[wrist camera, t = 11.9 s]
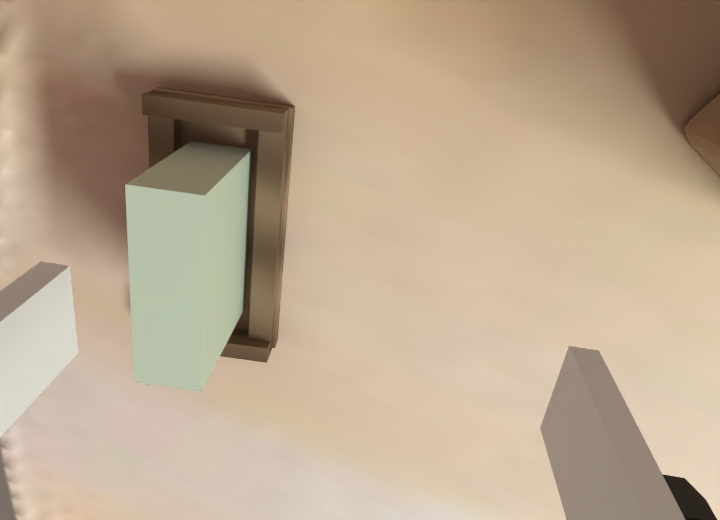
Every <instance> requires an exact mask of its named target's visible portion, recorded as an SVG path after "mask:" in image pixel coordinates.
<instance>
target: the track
mask: <svg viewBox="0 0 720 520" xmlns="http://www.w3.org/2000/svg"><path fill="white" fill-rule="evenodd" d="M142 108H143V115H148V132H149V167H150V168H151V167H152V166H154V165H155V164H157V163H159V162H160V161H162V160H163V159H165V158H166V157H168V156H169V155H171V154H172V153H174V152H175V151H177V150H178V149H180V148H181V147H183V146H185V145H186V144H188V143H189V142H191V141H196V142H203V143H210V144H217V145H224V146H231V147H239V148H246V149H252V159H251V180H250V200H249V221H248V241H247V262H246V282H245V303H244V310H243V312H242V314H241V316H240V318H239V320H238V322H237V324H236V326H235V328H234V330H233V332H232V334H231V336H230V338H229V340H228V342H227V343H226V345H225V347H224V349H223V351H222V353H221V355H220V356H223V357H231V358H238V359H245V360H252V361H259V362H266V363H267V360H268V358H269V355H270V352H271V350H272V348H275V346H276V343H277V339H278V326H279V313H280V299H281V286H282V273H283V259H284V246H285V232H286V219H287V206H288V192H289V179H290V166H291V152H292V139H293V126H294V112H295V106H290V105H282V104H275V103H268V102H260V101H253V100H246V99H238V98H231V97H224V96H216V95H209V94H202V93H194V92H187V91H180V90H173V89H165V88H155V89H152V91H151V92H148V93H145V94H142Z"/></svg>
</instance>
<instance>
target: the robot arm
mask: <svg viewBox="0 0 720 520" xmlns="http://www.w3.org/2000/svg"><path fill="white" fill-rule="evenodd" d="M77 353H78V347H77V337H76V326H75V316H74V306H73V296H72V286H71V275H70V266H66V265H59V264H53V263H47V262H40V263H38V264H37V265H36V266H34V267H33V268H31V269H30V270H29V271H27V272H26V273H25V274H23V275H22V276H20V277H19V278H18V279H16V280H15V281H14V282H12V283H11V284H10V285H8V286H7V287H5V288H4V289H3V290H1V291H0V437H1V436H2V435H3V434H4V432H5V431H6V430H7V429H8V428H9V427H10V426H11V425H12V424H13V423H14V422H15V421H16V419H17V418H18V417H19V416H20V415H21V414H22V413H23V412H24V411H25V410H26V409H27V408H28V406H29V405H30V404H31V403H32V402H33V401H34V400H35V399H36V398H37V397H38V396H39V395H40V393H41V392H42V391H43V390H44V389H45V388H46V387H47V386H48V385H49V384H50V383H51V382H52V380H53V379H54V378H55V377H56V376H57V375H58V374H59V373H60V372H61V371H62V370H63V369H64V367H65V366H66V365H67V364H68V363H69V362H70V361H71V360H72V359H73V358H74V357H75V356H76V355H77ZM540 429H541V432H542V436H543V439H544V443H545V446H546V450H547V453H548V456H549V460H550V463H551V467H552V470H553V474H554V477H555V481H556V484H557V488H558V491H559V495H560V498H561V501H562V505H563V508H564V512H565V515H566V519H567V520H717V519H716V517H715V515H714V513H713V512H712V510H711V508H710V506H709V505H708V503H707V501H706V499H705V498H704V497H703V496H702V495H701V494H700V493H699V492H698V491H697V490H696V489H695V488H694V487H693V486H692V485H691V484H690V483H689V482H688V481H687V480H686V479H685V478H680V477H674V476H668V475H662V473H661V471H660V469H659V467H658V465H657V463H656V461H655V459H654V457H653V455H652V454H651V452H650V450H649V448H648V446H647V444H646V442H645V440H644V438H643V436H642V434H641V432H640V430H639V428H638V426H637V424H636V422H635V420H634V418H633V416H632V415H631V413H630V411H629V409H628V407H627V405H626V403H625V401H624V399H623V397H622V395H621V393H620V391H619V389H618V387H617V385H616V383H615V381H614V379H613V377H612V375H611V374H610V372H609V370H608V368H607V366H606V364H605V362H604V360H603V358H602V356H601V354H600V352H599V351H598V350H591V349H585V348H579V347H573V346H569V348H568V351H567V353H566V356H565V359H564V362H563V365H562V368H561V370H560V373H559V376H558V379H557V382H556V385H555V388H554V390H553V393H552V396H551V399H550V402H549V405H548V407H547V410H546V413H545V416H544V419H543V422H542V424H541V427H540Z"/></svg>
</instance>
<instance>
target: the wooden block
mask: <svg viewBox="0 0 720 520" xmlns="http://www.w3.org/2000/svg"><path fill="white" fill-rule="evenodd" d="M684 130H685V133H686V136H687V140H688V142H689V144H690V145H691V146H692V147H693V148H694V149H695V150H696V151H697V152H698V153H699V154H700V155H701V156H702V158H703V159H704V160H705V161H706V162H707V163H708V164H709V165H710V166H711V167H712V168H713V169H714V170H715V171H716V173H717V174H718V175H719V176H720V94H718V95H717V96H716V97H715V98H714V99H713V100H712V101H711V102H709V103H708V104H707V105H706V106H705V107H704V108H703V109H701V110H700V111H699V112H698V113H697V114H696V115H695V116H694V117H692V118H691V119H690V120H689V122H688V123H687V125H686V126H685V128H684Z"/></svg>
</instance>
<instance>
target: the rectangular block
mask: <svg viewBox="0 0 720 520" xmlns="http://www.w3.org/2000/svg"><path fill="white" fill-rule="evenodd" d="M251 159H252V149H246V148H239V147H231V146H224V145H217V144H210V143H203V142H196V141H191V142H189V143H188V144H186V145H185V146H183V147H181V148H180V149H178V150H177V151H175V152H174V153H172V154H171V155H169V156H168V157H166V158H165V159H163V160H162V161H160V162H159V163H157V164H155V165H154V166H152V167H151V168H149V169H148V170H146V171H145V172H143V173H142V174H140V175H139V176H137V177H136V178H134V179H132V180H131V181H129V182H128V183H126V184H125V195H126V218H127V240H128V262H129V285H130V307H131V330H132V352H133V374H134V382H137V383H144V384H151V385H158V386H165V387H172V388H179V389H186V390H193V391H200V392H202V391H203V389H204V387H205V385H206V383H207V381H208V379H209V377H210V375H211V373H212V371H213V369H214V367H215V365H216V363H217V361H218V359H219V357H220V355H221V353H222V351H223V349H224V347H225V345H226V343H227V342H228V340H229V338H230V336H231V334H232V332H233V330H234V328H235V326H236V324H237V322H238V320H239V318H240V316H241V314H242V312H243V310H244V303H245V282H246V262H247V241H248V221H249V200H250V180H251Z"/></svg>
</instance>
